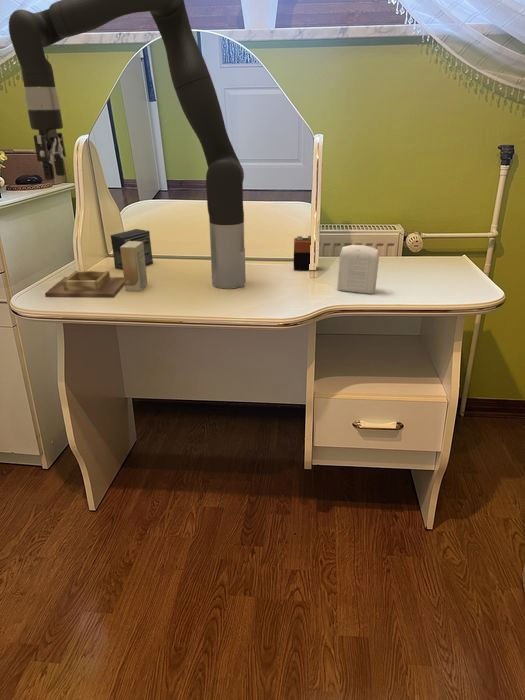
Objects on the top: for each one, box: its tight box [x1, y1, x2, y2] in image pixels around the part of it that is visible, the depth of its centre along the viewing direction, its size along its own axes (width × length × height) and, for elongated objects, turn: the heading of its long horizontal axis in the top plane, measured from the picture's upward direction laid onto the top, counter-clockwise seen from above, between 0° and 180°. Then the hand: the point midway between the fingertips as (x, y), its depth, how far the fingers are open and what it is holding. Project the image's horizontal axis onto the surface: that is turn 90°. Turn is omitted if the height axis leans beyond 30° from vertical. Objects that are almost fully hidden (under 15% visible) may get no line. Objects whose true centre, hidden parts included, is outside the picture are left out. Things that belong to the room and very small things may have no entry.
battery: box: [293, 235, 312, 272], centre depth 156 cm, size 4×7×10 cm, turn 88°
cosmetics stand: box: [44, 270, 125, 298], centre depth 141 cm, size 18×14×4 cm
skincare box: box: [120, 241, 148, 292], centre depth 139 cm, size 6×4×12 cm
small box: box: [110, 228, 154, 271], centre depth 159 cm, size 11×6×10 cm, turn 144°
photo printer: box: [336, 244, 380, 295], centre depth 137 cm, size 10×4×12 cm, turn 73°
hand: (55, 177), depth 133 cm, fingers open, 8 cm apart
